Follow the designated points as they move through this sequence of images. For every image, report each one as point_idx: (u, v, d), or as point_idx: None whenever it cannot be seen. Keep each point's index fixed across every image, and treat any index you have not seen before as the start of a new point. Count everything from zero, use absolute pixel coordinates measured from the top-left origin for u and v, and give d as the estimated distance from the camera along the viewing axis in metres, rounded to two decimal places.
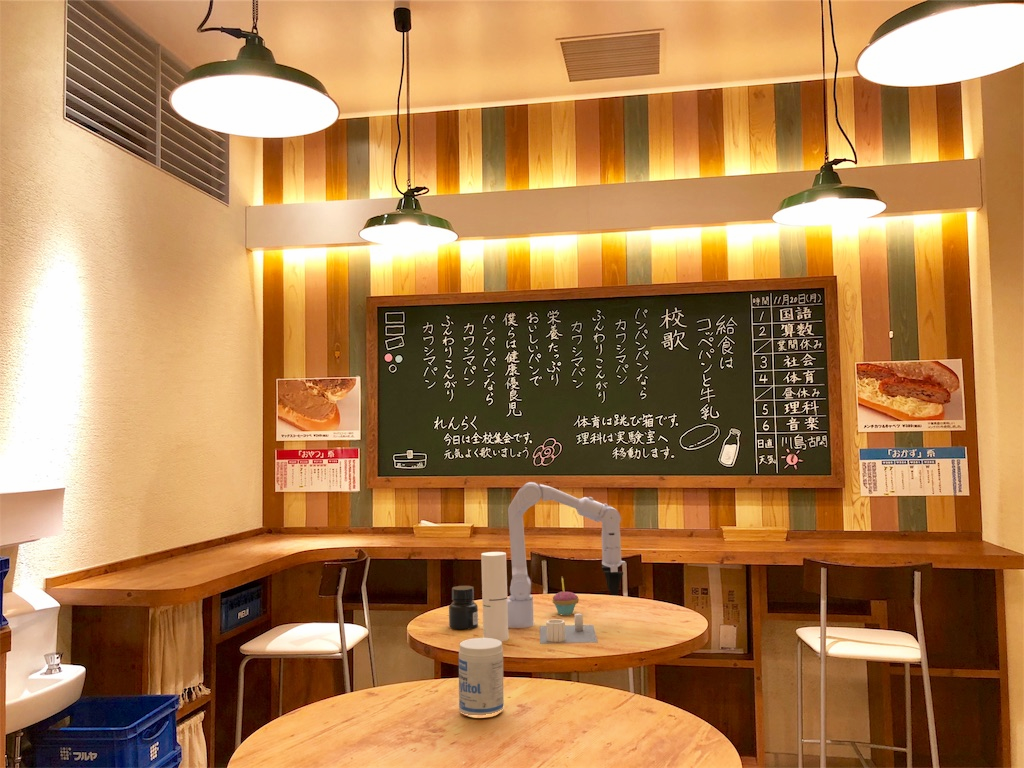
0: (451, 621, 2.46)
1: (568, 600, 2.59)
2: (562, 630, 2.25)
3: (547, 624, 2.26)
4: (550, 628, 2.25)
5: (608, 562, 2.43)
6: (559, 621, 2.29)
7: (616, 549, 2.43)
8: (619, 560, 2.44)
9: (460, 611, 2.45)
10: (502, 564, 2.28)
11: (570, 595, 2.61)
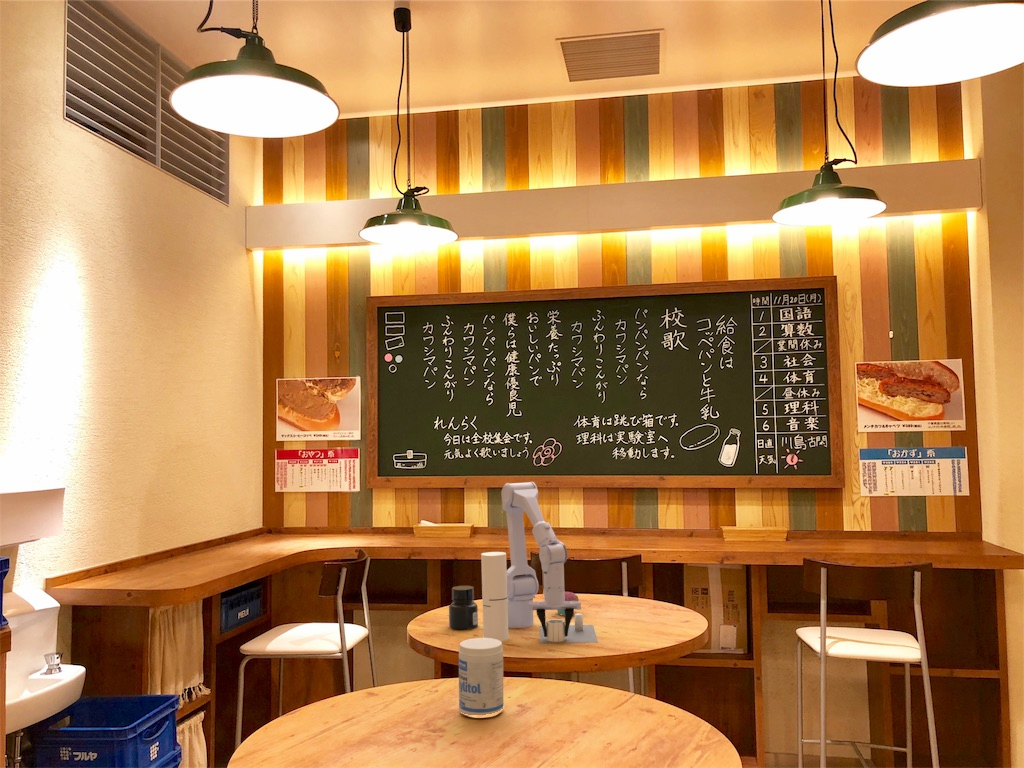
0: (451, 621, 2.46)
1: (568, 600, 2.59)
2: (562, 630, 2.25)
3: (547, 624, 2.26)
4: (550, 628, 2.25)
5: None
6: (559, 621, 2.29)
7: (545, 589, 2.27)
8: (548, 602, 2.26)
9: (460, 611, 2.45)
10: (502, 564, 2.28)
11: (570, 595, 2.61)
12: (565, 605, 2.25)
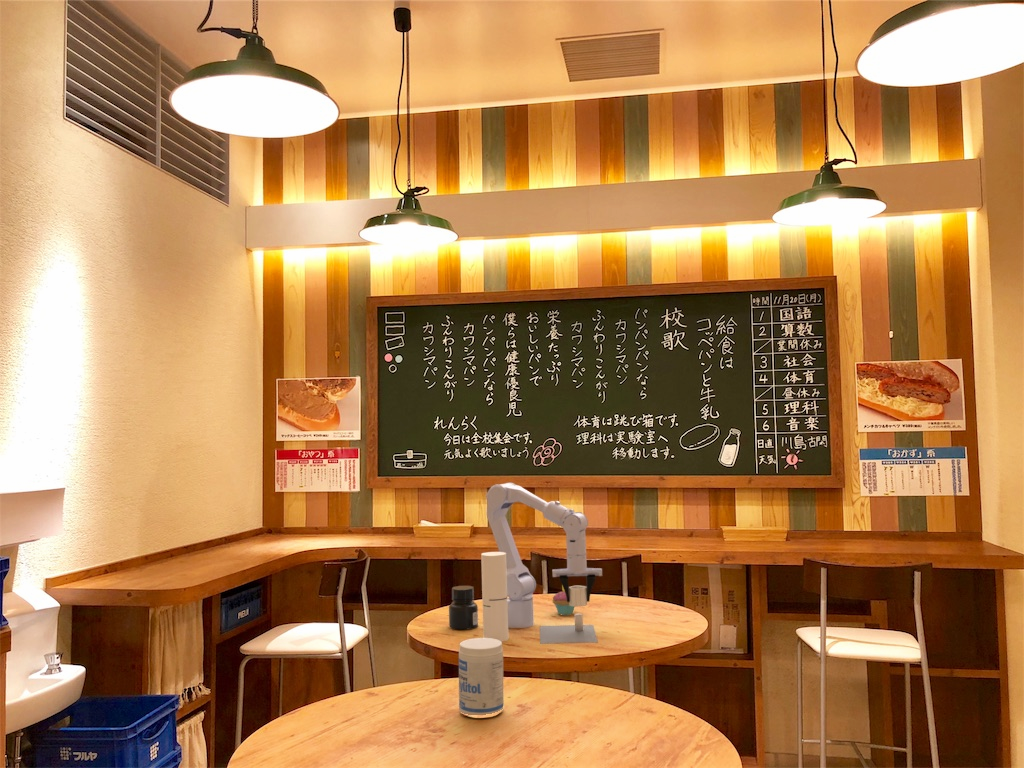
0: (451, 621, 2.46)
1: None
2: (584, 595, 2.35)
3: (570, 590, 2.36)
4: (573, 593, 2.35)
5: None
6: (581, 587, 2.39)
7: (568, 556, 2.37)
8: (571, 568, 2.36)
9: (460, 611, 2.45)
10: (502, 564, 2.28)
11: None
12: (587, 571, 2.36)
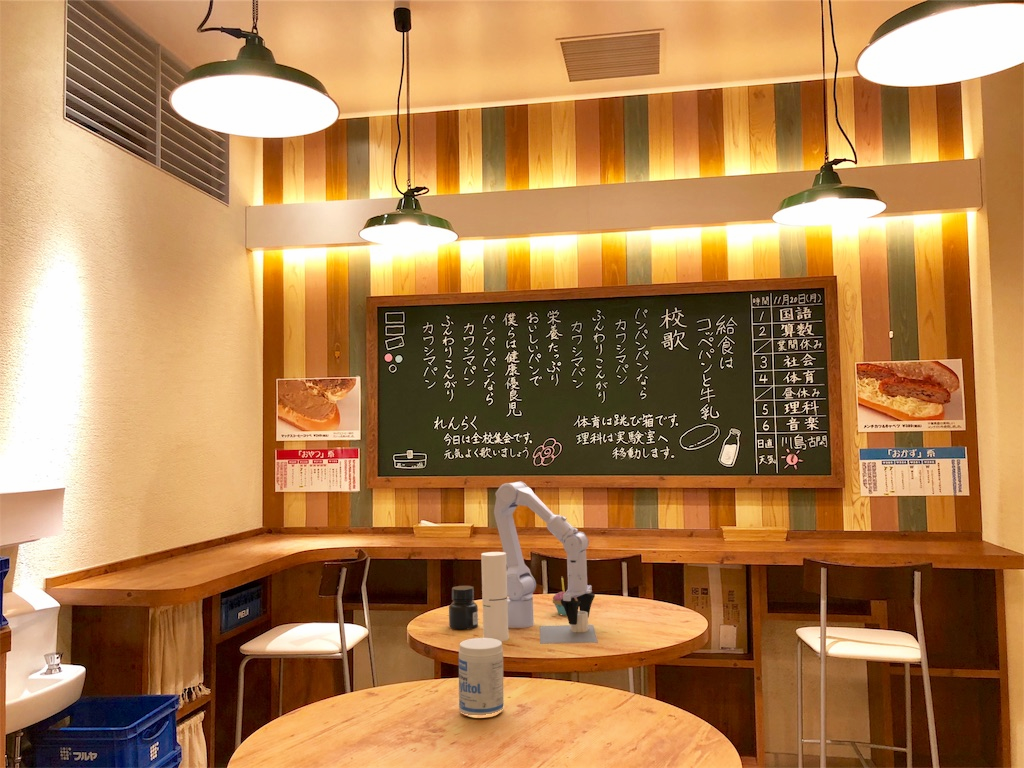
0: (451, 621, 2.46)
1: None
2: None
3: (579, 616, 2.34)
4: (583, 619, 2.35)
5: (569, 590, 2.36)
6: None
7: (577, 577, 2.35)
8: (581, 589, 2.35)
9: (460, 611, 2.45)
10: (502, 564, 2.28)
11: None
12: (588, 589, 2.39)
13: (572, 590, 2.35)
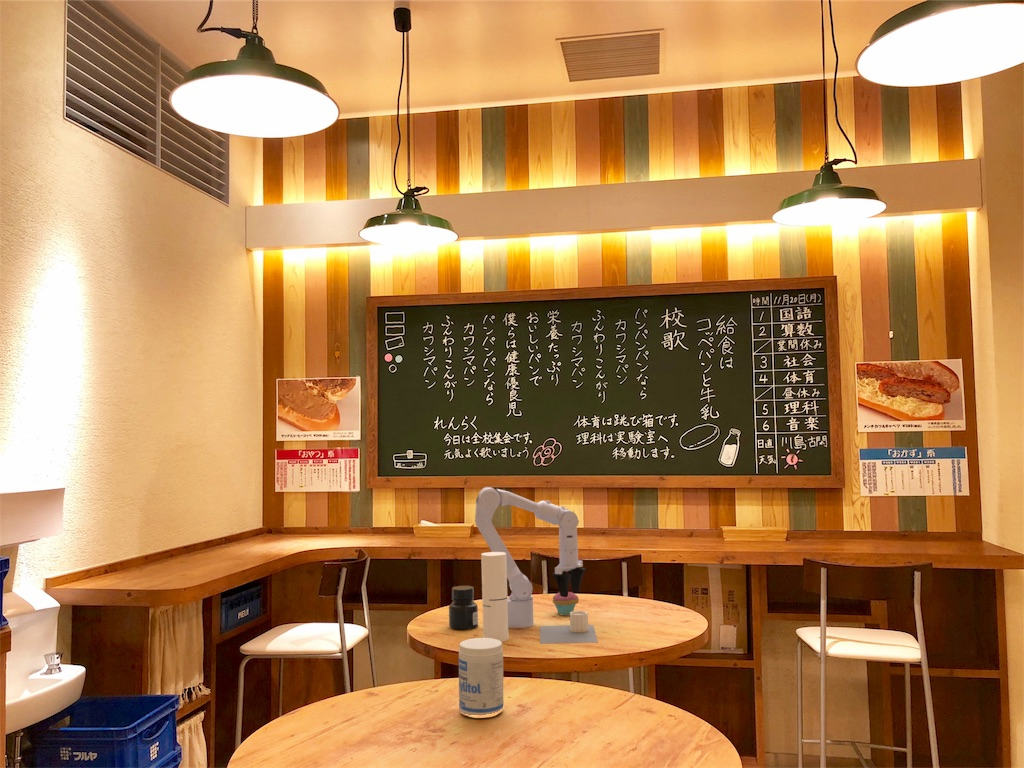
0: (451, 621, 2.46)
1: (568, 600, 2.59)
2: None
3: (579, 616, 2.34)
4: (583, 619, 2.35)
5: (561, 564, 2.46)
6: (575, 612, 2.39)
7: (568, 552, 2.45)
8: (572, 563, 2.45)
9: (460, 611, 2.45)
10: (502, 564, 2.28)
11: (570, 595, 2.61)
12: (579, 564, 2.49)
13: (563, 564, 2.46)
